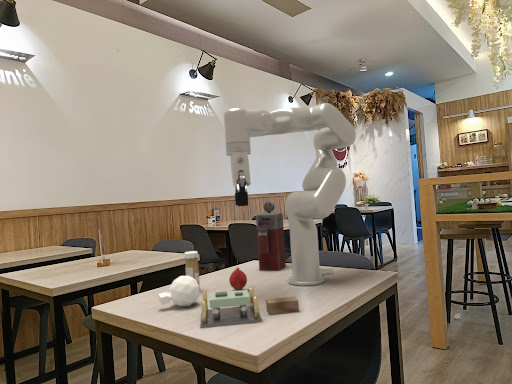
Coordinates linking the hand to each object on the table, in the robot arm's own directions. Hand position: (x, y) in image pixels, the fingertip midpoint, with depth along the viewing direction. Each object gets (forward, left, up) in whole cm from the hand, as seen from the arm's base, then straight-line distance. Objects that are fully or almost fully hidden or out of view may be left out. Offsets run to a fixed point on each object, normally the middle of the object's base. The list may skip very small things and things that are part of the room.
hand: (241, 205), depth 117 cm
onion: (+2, -9, -28) cm, 30 cm away
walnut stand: (-8, +16, -28) cm, 33 cm away
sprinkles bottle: (+17, -14, -28) cm, 36 cm away
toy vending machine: (-14, -41, -28) cm, 52 cm away
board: (+6, +17, -24) cm, 30 cm away
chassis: (+6, +17, -28) cm, 34 cm away
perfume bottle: (+20, +2, -28) cm, 35 cm away
